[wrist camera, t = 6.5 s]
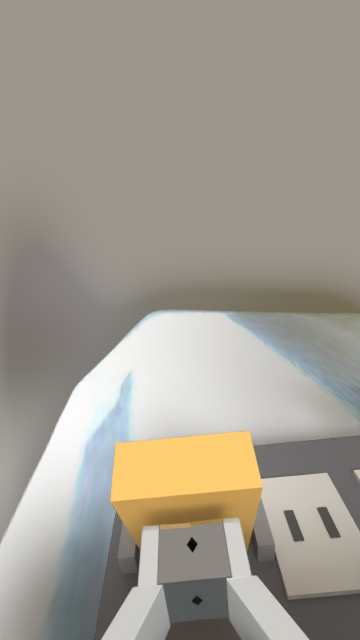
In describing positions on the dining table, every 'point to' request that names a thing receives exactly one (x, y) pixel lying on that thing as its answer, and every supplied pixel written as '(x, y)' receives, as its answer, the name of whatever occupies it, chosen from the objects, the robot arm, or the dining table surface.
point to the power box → (281, 544)
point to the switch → (186, 481)
